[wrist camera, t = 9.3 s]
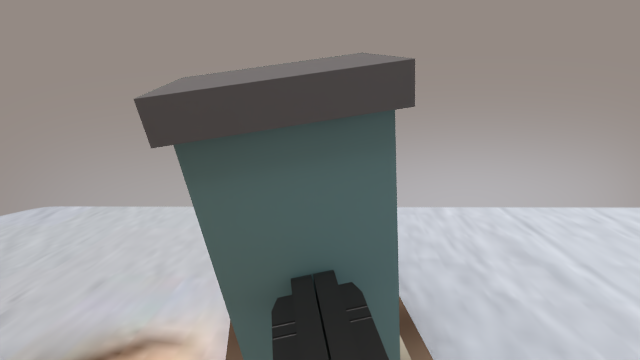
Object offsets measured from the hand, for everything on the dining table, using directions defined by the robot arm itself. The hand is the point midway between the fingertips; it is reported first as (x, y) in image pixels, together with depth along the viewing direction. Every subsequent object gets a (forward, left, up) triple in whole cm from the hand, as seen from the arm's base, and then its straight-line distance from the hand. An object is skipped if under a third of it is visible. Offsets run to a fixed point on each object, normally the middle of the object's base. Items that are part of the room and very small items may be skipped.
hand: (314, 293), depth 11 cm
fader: (-1, +2, -6) cm, 6 cm away
